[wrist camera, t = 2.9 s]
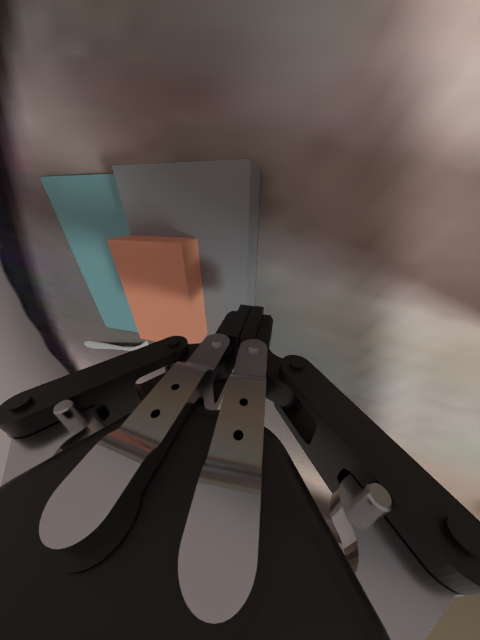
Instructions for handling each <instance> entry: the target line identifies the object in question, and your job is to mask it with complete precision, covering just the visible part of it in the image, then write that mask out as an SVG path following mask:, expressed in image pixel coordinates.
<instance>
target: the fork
mask: <svg viewBox="0 0 480 640" xmlns="http://www.w3.org/2000/svg"><path fill="white" fill-rule="evenodd" d="M84 345H85V346H87V347H90V348H94V349H119V350H128V351H133V350H136V349H139V348H141V347H144V346H147V345H149V344H148V342H147V341H144V342H143V343H142V344H141V345H139V346H135V347H124V346H118V345H113V344H108V343H103V342H94V341H86V342H85V343H84Z"/></svg>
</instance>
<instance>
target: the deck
mask: <svg viewBox="0 0 480 640" xmlns="http://www.w3.org/2000/svg"><path fill="white" fill-rule="evenodd" d="M112 169H113V173H114V176H115V180H116V183H117V187H118V191H119V194H120V198H121V202H122V205H123V209H124V212H125V216H126V220H127V223H128V227H129V230H130V234H131V235H141V236H163V237H185V238H197V242H198V251H199V260H200V269H201V279H202V288H203V297H204V306H205V316H206V325H207V335H206V337H207V336H209V335H211V334H215V333H216V331H217V329H218V328H219V326H220V324H221V323H222V321H223V319H224V318H225V316H226V314H228V313H229V312H231V311H237V310H238V308H239V307H240V305H241V304H242V305H250V306H255V285H256V265H257V245H258V224H259V204H260V184H261V169H260V168H259V167H258V166H257V165H256V164H255V163H254V162H253V161H252V160H251V159H250V158H249V159H230V160H210V161H190V162H171V163H151V164H131V165H112ZM206 337H205V338H206ZM205 338H204V339H205ZM233 371H234V369H233Z"/></svg>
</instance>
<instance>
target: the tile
mask: <svg viewBox="0 0 480 640" xmlns="http://www.w3.org/2000/svg"><path fill="white" fill-rule="evenodd" d="M107 242H108V245H109V248H110V251H111V254H112V257H113V260H114V263H115V266H116V268H117V271H118V274H119V277H120V280H121V283H122V286H123V289H124V292H125V295H126V298H127V300H128V303H129V306H130V309H131V312H132V315H133V318H134V321H135V324H136V327H137V330H138V332H139V335H140V338H141V339H145V340H151V341H156V342H157V341H160V340H163V339H165V338H168V337H171V336H183V337H185V338H186V339H187V341H188V344H196V343H202V341H203V340H204V338H205V337H206V335H207V325H206V316H205V306H204V297H203V288H202V279H201V269H200V260H199V251H198V242H197V238H185V237H163V236H141V235H128V236H123V237H117V238H112V239H107Z"/></svg>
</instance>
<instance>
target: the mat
mask: <svg viewBox="0 0 480 640" xmlns="http://www.w3.org/2000/svg"><path fill="white" fill-rule="evenodd" d="M40 180H41V182H42V184H43V186H44V188H45V191H46V193H47V195H48V197H49V200H50V202H51V204H52V206H53V209H54V211H55V213H56V215H57V218H58V220H59V222H60V224H61V227H62V229H63V231H64V233H65V236H66V238H67V240H68V242H69V245H70V247H71V249H72V251H73V254H74V256H75V258H76V260H77V262H78V265H79V267H80V269H81V271H82V274H83V276H84V278H85V280H86V283H87V285H88V287H89V289H90V292H91V294H92V296H93V298H94V301H95V303H96V305H97V307H98V310H99V312H100V314H101V316H102V319H103V321H104V323H105V325H106V327H111V328H116V329H122V330H128V331H133V332H138V330H137V327H136V324H135V321H134V318H133V315H132V312H131V309H130V306H129V303H128V300H127V298H126V295H125V292H124V289H123V286H122V283H121V280H120V277H119V274H118V271H117V268H116V266H115V263H114V260H113V257H112V254H111V251H110V248H109V245H108V242H107V239H112V238H117V237H123V236H128V235H131V234H130V230H129V227H128V223H127V220H126V216H125V212H124V209H123V205H122V202H121V198H120V194H119V191H118V187H117V183H116V180H115V176H114V174H98V175H72V176H47V177H40Z"/></svg>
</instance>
